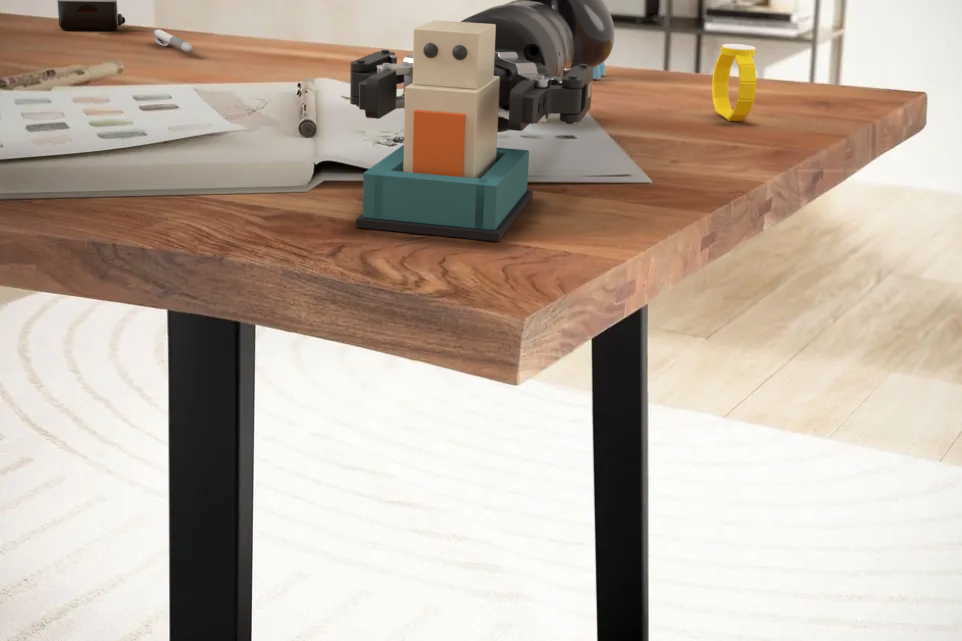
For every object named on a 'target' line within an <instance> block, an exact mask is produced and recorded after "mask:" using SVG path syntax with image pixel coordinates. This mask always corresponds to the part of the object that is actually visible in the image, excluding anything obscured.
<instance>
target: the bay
mask: <svg viewBox="0 0 962 641" xmlns="http://www.w3.org/2000/svg"><path fill="white" fill-rule="evenodd" d="M529 162H530V150H528V149H518V148H507V147H497V152H496V164H495V165H494V166H493V167H492V168H491V169H490V170H489V171H488V172H487V173H486V174H485V175H484V176H483V177H482V178H481V179H478V178H467V177H456V176H445V175H434V174H423V173H412V172H403V170H404V144H403V145H401V146H400V147H398V148H397V149H395V150H394V151H393V152H391V153H390V154H389V155H387V156H386V157H384V158H383V159H382V160H380V161H379V162H378V163H375V165H373V166H371V167H370V168H368V169H367V170H366V171H364V172H363V173H362V183H363V184H362V213H361V214H360V215H359V216H358V217H357V218H356V219H355V227H356V228H358V229H359V228H360V229H366V230H367V229H370V230H379V231H387V232H388V231H389V232H398V233H407V234H417V235H428V236H437V237H438V236H439V237H446V238H447V237H448V238H458V239H467V240H478V241H486V242H487V241H488V242H495V243H496V242H497V243H499V242H500V240H501V239H502V238H503V237H504V236H505V234H506V233H507V232H508V230H509V229H510V228H511V227H512V225H513V224H514V222H515V221H516V220H517V219H518V217H519V216H520V215H521V213H522V212H523V211H524V209H525V208H526V207H527V205H528V204H529V203H530V201H532V199H533V196H534V195H533V194H534V190H533V189H528V183H529V182H528V180H529Z"/></svg>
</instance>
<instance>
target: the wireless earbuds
mask: <svg viewBox="0 0 962 641" xmlns="http://www.w3.org/2000/svg"><path fill="white" fill-rule="evenodd" d="M56 2H57V3H56V4H57V16H58V25H59V28H60V29H61V30H62V31H98V32H99V31H100V32H101V31H102V32H103V31H104V32H105V31H109V32H110V31H112V32H113V31H116V30H117V29H118V28H119V27H122V25H124V24H125V23H126V22H127V20H126V18H125V17H124V16H123V14H122V13H119V12H118V0H56Z"/></svg>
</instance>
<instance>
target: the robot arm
mask: <svg viewBox="0 0 962 641" xmlns="http://www.w3.org/2000/svg"><path fill="white" fill-rule="evenodd" d="M459 22H469V23H484V24H495V25H496V32H495V55H494V76H499V77H500V84H499V106H498V129H497V133H503V132H507V131H517V132H519V131H520V132H523V131H524V130H525V129H526V128H527V127H528V126H529V125H534V124H537V125H538V124H542V123H545V122H546V123H547V122H548V121H549V115H552V114H553V115H555V114H559V121H560V122H561V123H562V122H563V123H565V124H567V125H575V123H580V122H582V120H583V119H584V117H585V116H586V115H587V113H588V112H589V110H590V109H591V108H592V94H593V81H594V79H593V67H596V66H598V65H600V64H601V63H603V62H604V63H605V61H606V60H607V59H608V58H609V57H610V55H611V53H612V50H613V48H614V43H615V26H614V25H615V24H614V21H613V18H612V15H611V12H610V10H609V8H608V6H607V4H606V3H605V0H604V1H603V0H512V1H509V2H506V3H503V4H501V5H495V6H493V7H489V8H487V9H485V10H482V11H480V12H477V13H475V14H473V15H471V16H468V17H466V18H464V19H462V20H460V21H459ZM380 50H381V51H380ZM380 50H379V51H375V52H372V53H370V54H367V55H364V56H362V57H360V58H357V59H355V60H352V61H350V63H349V64H350V65H349V66H350V68H349V70H350V71H349V72H350V73H349V74H350V76H349V78H350V80H349V81H350V83H349V85H350V88H349V90H350V91H349V93H350V94H349V95H350V96H349V97H350V98H349V103H350V105H354V106H356V107H358V109H359V110H362V111H364V115H365V118H367V119H375V120H377V119H378V120H379V119H382V118H383V117H385V116H386V115H388V114H390V113H392V112H394V111H395V110H397V109H398V110H400V109H403V110H405V87H406V86H408V85H410V84H412V83H413V53H408V54H407V55H405V56H404V58H403V61H402V62H399V63H398V56H397V55H396V52H395V51H390V50H389V49H380ZM400 84H403V92H402V94H401V95H399V96H397V95H398V85H400Z"/></svg>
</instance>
